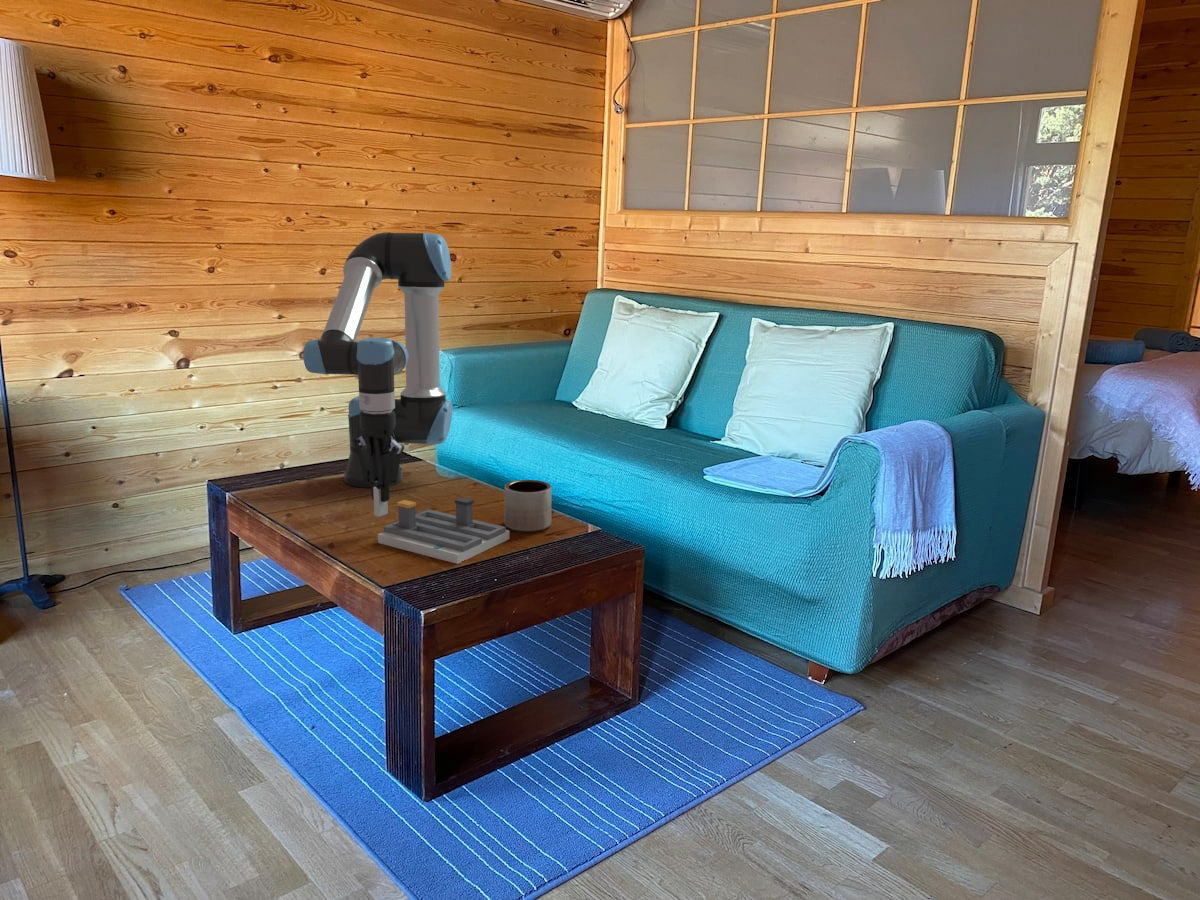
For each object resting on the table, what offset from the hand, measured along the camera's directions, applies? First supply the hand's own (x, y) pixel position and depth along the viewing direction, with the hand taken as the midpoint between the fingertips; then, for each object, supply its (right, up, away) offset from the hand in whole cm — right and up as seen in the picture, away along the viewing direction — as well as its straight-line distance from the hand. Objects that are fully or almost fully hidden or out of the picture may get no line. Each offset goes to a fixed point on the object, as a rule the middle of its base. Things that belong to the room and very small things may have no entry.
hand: (381, 514), depth 201 cm
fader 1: (+6, -3, -3) cm, 8 cm away
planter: (+32, -3, +9) cm, 33 cm away
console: (+14, -6, -2) cm, 16 cm away
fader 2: (+19, -3, 0) cm, 19 cm away
